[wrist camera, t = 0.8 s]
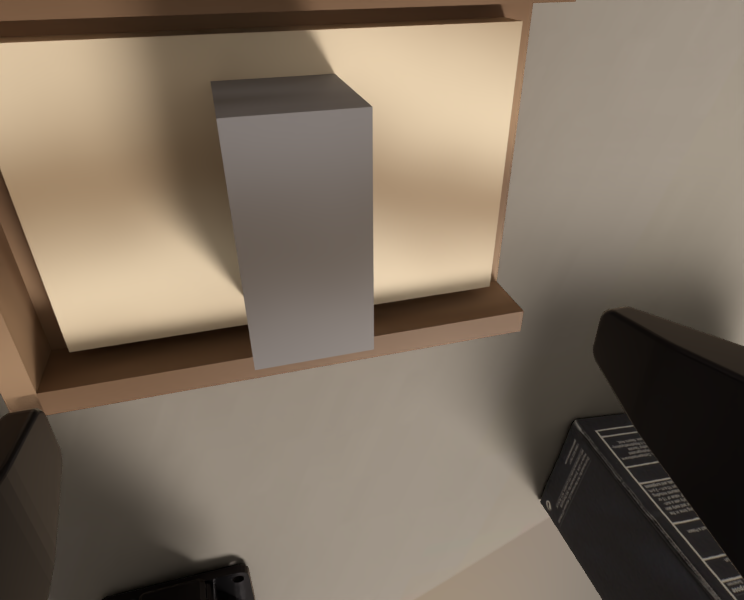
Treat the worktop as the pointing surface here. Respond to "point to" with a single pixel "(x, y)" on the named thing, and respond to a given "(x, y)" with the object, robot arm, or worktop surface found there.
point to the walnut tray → (232, 345)
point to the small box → (632, 519)
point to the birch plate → (163, 173)
